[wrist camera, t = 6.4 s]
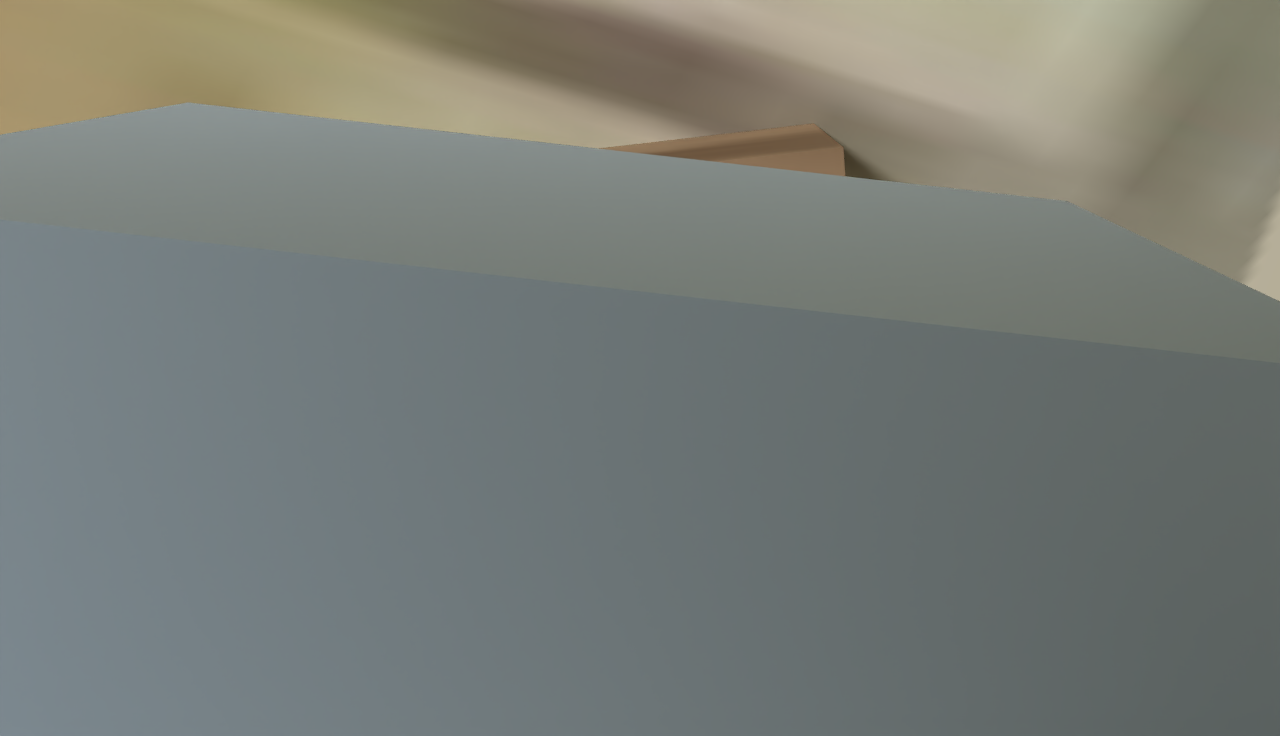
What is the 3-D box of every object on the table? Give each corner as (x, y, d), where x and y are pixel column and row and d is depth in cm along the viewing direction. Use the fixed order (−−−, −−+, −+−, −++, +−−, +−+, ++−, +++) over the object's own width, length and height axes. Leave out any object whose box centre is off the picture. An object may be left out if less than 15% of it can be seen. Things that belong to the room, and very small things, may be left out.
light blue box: (188, 102, 13) (-300, 184, 7) (1067, 200, 13) (1450, 382, 7) (188, 845, 16) (-156, 1424, 10) (914, 927, 16) (1079, 1563, 10)
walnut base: (363, 174, 32) (295, 210, 26) (812, 122, 31) (843, 147, 25) (437, 579, 35) (391, 689, 30) (844, 540, 35) (877, 645, 29)
